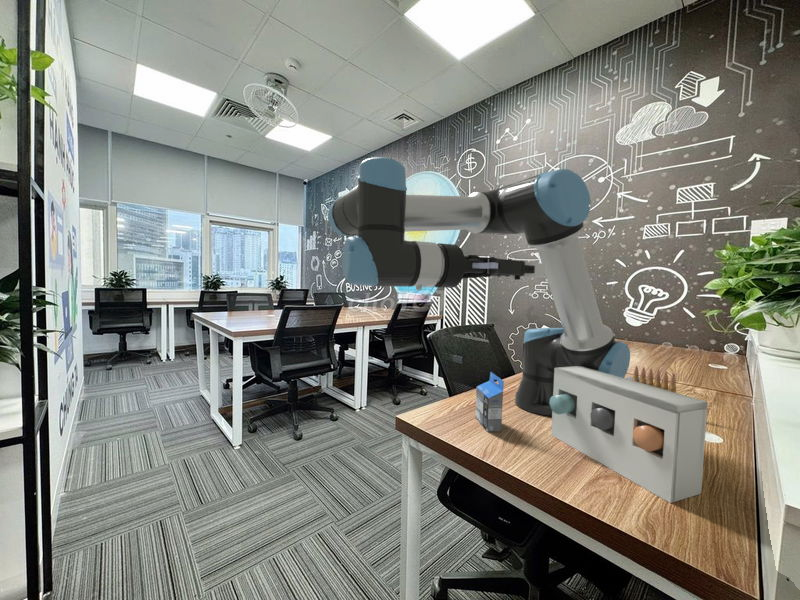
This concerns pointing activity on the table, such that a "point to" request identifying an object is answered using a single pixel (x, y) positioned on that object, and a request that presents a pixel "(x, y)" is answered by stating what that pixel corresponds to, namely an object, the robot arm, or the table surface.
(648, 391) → the console
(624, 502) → the table surface
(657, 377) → the ammunition clip
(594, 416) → the charcoal button
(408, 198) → the robot arm
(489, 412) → the label tape cartridge
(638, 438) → the terracotta button
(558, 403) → the teal button
